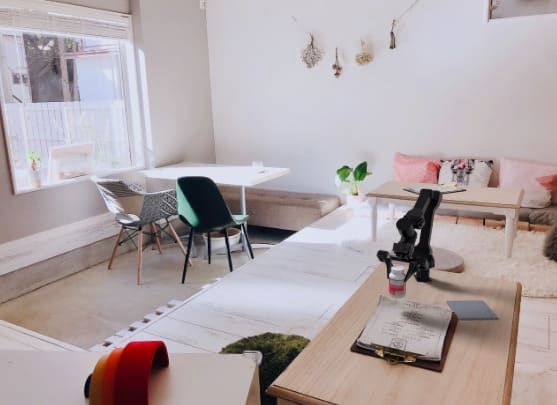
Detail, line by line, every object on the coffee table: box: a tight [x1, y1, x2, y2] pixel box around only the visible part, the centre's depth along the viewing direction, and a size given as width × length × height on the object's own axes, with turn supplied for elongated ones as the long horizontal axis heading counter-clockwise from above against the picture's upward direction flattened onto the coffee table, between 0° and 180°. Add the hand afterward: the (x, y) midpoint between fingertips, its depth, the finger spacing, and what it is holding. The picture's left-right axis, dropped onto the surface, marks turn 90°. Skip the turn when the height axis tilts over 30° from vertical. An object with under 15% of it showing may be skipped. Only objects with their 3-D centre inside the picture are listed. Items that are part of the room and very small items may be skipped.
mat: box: [446, 299, 499, 321], centre depth 177 cm, size 14×14×1 cm
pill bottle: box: [388, 265, 407, 299], centre depth 177 cm, size 6×6×11 cm
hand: (396, 280), depth 175 cm, fingers closed on pill bottle, 6 cm apart
